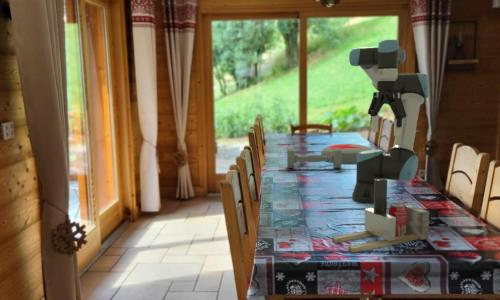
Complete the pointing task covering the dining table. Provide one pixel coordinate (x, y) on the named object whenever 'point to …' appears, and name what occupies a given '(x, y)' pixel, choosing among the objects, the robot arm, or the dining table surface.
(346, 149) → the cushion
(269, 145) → the dining table surface
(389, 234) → the vice jaw
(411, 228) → the base
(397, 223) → the soda can
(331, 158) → the dumbbell
